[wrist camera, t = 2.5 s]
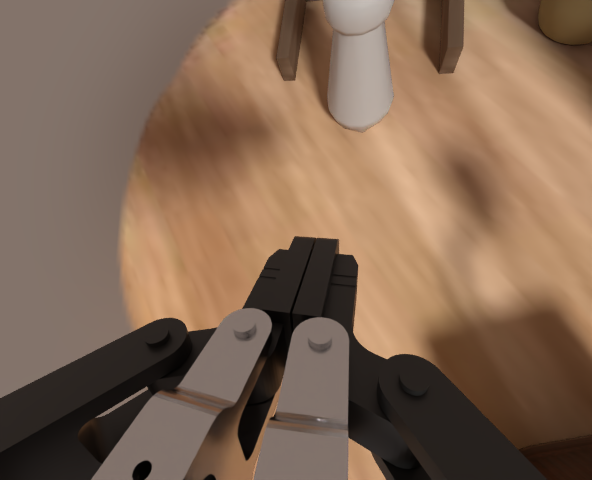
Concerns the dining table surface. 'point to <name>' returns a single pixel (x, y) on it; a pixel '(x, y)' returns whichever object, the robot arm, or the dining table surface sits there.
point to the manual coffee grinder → (562, 458)
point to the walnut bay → (296, 3)
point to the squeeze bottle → (566, 20)
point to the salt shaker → (359, 62)
